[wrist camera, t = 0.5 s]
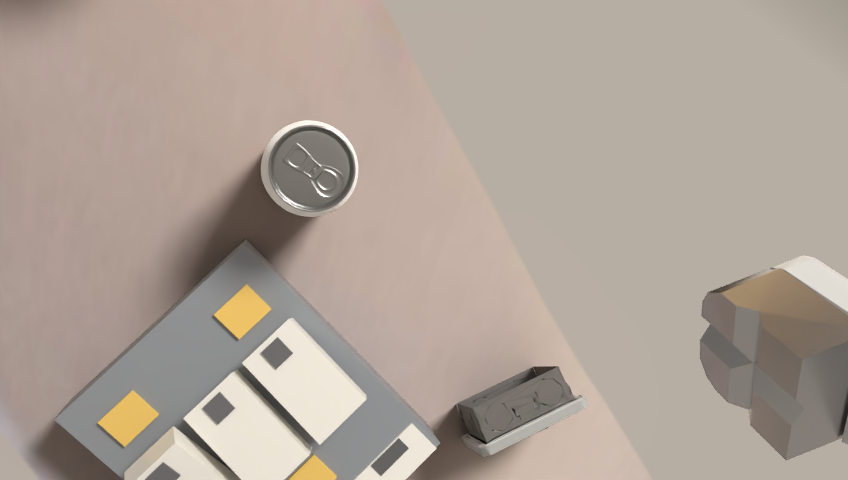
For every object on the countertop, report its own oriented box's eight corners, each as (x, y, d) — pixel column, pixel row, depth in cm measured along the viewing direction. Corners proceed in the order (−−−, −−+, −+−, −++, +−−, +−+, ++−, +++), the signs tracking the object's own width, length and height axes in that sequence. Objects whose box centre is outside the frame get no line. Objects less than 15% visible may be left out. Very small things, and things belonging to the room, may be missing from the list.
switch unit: (426, 422, 62) (442, 446, 56) (272, 575, 60) (273, 615, 54) (245, 238, 57) (244, 245, 51) (72, 398, 55) (51, 423, 49)
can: (309, 226, 58) (321, 238, 46) (243, 176, 56) (239, 176, 45) (357, 164, 58) (382, 161, 47) (294, 113, 57) (303, 96, 45)
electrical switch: (462, 445, 63) (493, 479, 54) (440, 392, 62) (467, 417, 53) (555, 399, 64) (599, 425, 55) (533, 347, 64) (575, 364, 55)
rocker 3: (366, 395, 53) (366, 400, 51) (322, 438, 53) (319, 445, 50) (292, 317, 53) (288, 318, 51) (247, 360, 53) (241, 363, 50)
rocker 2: (312, 448, 52) (309, 455, 50) (267, 492, 52) (261, 502, 49) (237, 369, 53) (230, 373, 50) (191, 412, 52) (182, 418, 50)
